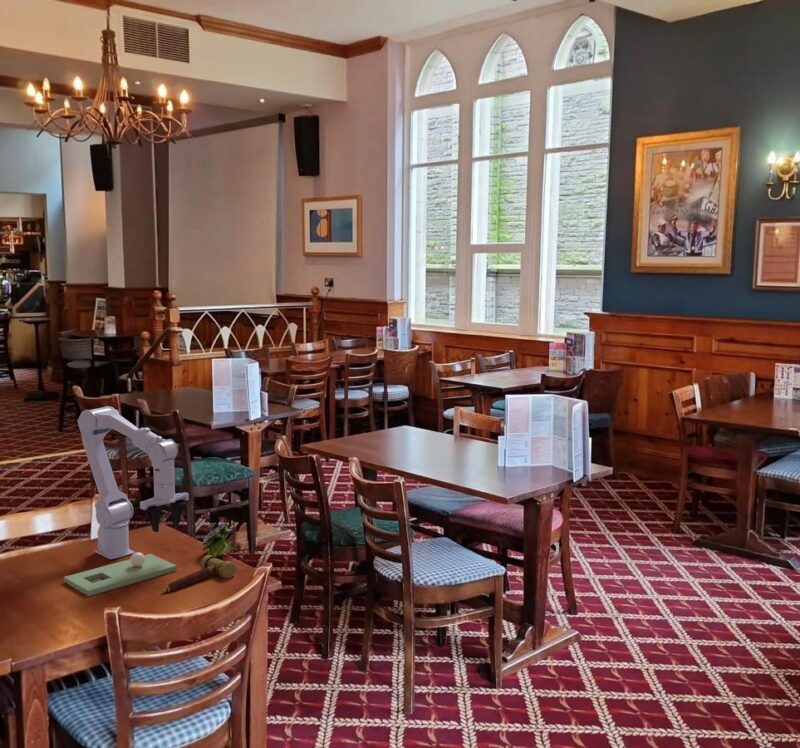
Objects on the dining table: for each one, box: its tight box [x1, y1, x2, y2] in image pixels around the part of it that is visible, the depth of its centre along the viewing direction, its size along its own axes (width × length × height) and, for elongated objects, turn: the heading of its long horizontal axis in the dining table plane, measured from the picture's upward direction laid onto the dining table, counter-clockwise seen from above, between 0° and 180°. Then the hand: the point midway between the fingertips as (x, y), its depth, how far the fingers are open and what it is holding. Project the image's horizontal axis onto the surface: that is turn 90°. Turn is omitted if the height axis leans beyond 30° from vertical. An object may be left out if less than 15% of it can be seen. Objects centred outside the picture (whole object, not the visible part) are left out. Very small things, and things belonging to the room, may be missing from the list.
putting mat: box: [63, 553, 178, 597], centre depth 228 cm, size 14×26×2 cm, turn 137°
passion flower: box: [201, 521, 238, 558], centre depth 246 cm, size 11×11×12 cm
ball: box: [129, 552, 145, 567], centre depth 231 cm, size 4×4×4 cm
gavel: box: [162, 554, 237, 593], centre depth 224 cm, size 21×5×10 cm
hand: (165, 528), depth 237 cm, fingers open, 6 cm apart
